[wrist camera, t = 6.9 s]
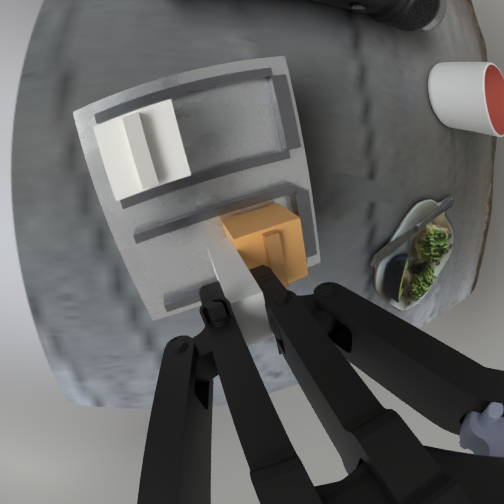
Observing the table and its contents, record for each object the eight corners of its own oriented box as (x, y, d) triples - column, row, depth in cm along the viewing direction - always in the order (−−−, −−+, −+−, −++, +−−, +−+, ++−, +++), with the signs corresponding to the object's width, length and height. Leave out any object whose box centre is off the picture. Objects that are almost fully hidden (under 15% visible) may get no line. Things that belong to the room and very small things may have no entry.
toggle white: (170, 106, 14) (171, 97, 11) (186, 167, 16) (192, 176, 13) (107, 128, 14) (89, 126, 10) (125, 188, 16) (114, 204, 12)
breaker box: (250, 76, 22) (290, 52, 14) (283, 229, 29) (326, 267, 22) (101, 118, 20) (67, 111, 12) (154, 272, 27) (153, 328, 19)
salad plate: (425, 160, 32) (450, 166, 28) (460, 227, 40) (478, 236, 36) (349, 272, 35) (370, 289, 31) (402, 314, 43) (418, 328, 39)
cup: (420, 111, 28) (481, 119, 20) (425, 51, 25) (482, 47, 16) (456, 136, 32) (508, 148, 23) (461, 81, 28) (511, 85, 19)
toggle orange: (277, 202, 19) (304, 220, 15) (287, 253, 21) (312, 280, 17) (221, 220, 18) (235, 243, 15) (235, 271, 20) (252, 302, 17)
